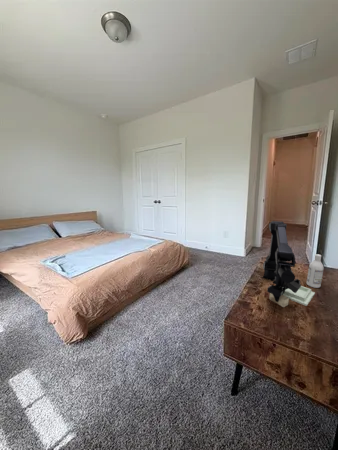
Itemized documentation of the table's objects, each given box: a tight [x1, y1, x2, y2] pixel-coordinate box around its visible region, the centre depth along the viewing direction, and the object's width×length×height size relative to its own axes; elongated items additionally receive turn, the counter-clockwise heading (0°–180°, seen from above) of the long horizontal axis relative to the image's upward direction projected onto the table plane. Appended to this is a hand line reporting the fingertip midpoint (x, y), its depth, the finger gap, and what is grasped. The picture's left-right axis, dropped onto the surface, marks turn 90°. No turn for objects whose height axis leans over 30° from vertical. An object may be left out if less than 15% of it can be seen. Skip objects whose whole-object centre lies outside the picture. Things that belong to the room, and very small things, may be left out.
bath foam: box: [306, 253, 325, 289], centre depth 115 cm, size 7×7×20 cm
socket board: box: [283, 285, 316, 307], centre depth 109 cm, size 16×16×3 cm
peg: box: [268, 293, 290, 308], centre depth 101 cm, size 8×4×4 cm, turn 27°
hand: (278, 299), depth 101 cm, fingers closed on peg, 4 cm apart
